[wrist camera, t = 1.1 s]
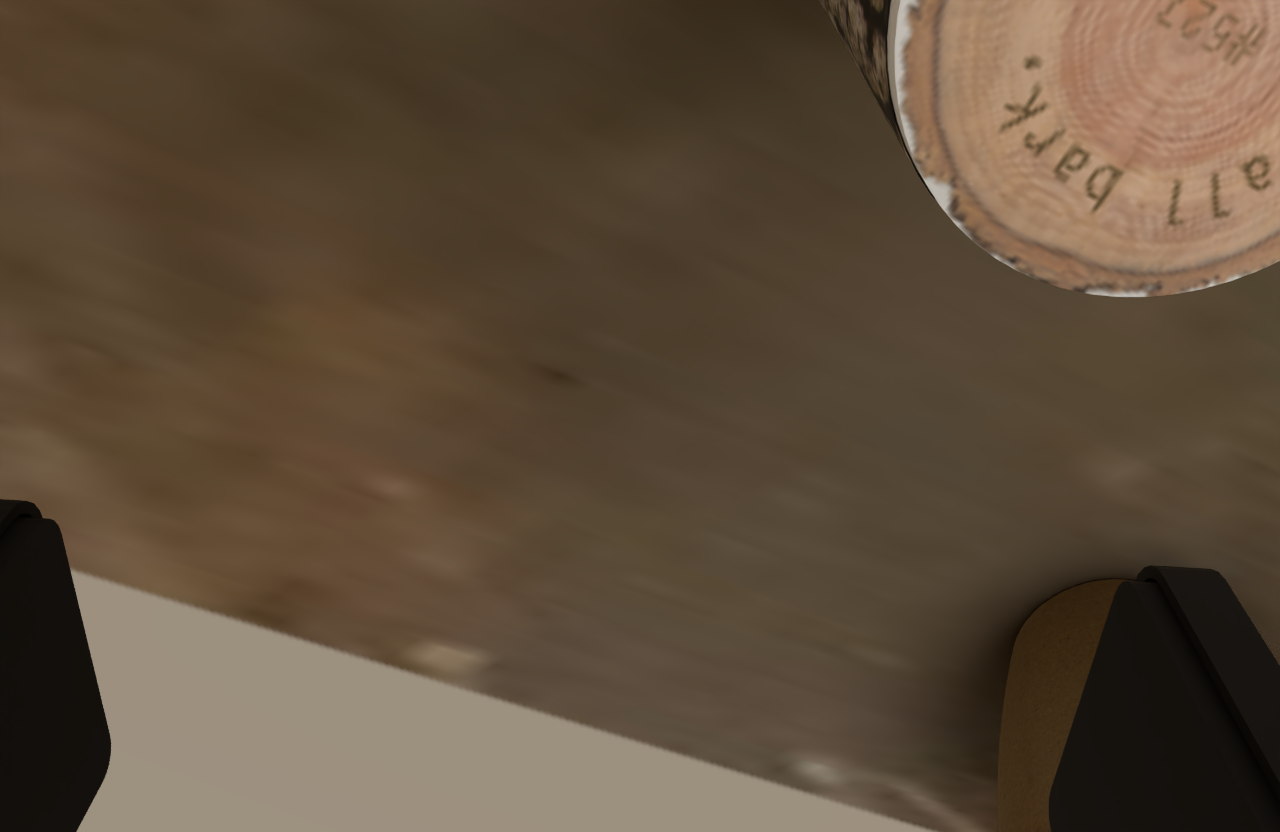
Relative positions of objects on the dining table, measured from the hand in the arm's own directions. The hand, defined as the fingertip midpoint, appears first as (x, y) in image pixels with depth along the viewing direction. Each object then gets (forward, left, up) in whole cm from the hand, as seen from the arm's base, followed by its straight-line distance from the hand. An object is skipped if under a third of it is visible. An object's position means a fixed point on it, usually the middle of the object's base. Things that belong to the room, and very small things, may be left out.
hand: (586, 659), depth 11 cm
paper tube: (-7, +4, -31) cm, 32 cm away
